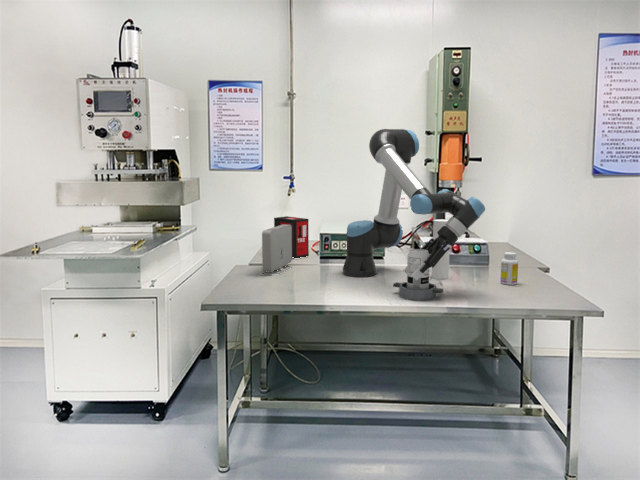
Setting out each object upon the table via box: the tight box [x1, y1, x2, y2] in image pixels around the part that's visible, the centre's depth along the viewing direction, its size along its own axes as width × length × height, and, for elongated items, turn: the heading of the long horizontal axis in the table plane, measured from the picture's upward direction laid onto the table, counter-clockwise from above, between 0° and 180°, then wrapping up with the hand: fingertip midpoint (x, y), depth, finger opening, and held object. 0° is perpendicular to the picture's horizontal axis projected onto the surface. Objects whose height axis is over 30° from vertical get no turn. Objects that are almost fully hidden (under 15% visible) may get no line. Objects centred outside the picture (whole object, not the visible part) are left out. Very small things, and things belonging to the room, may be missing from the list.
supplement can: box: [406, 248, 430, 290], centre depth 208 cm, size 8×8×15 cm
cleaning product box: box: [273, 215, 310, 259], centre depth 289 cm, size 16×9×20 cm, turn 46°
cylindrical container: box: [431, 218, 451, 280], centre depth 239 cm, size 7×7×25 cm
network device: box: [261, 224, 293, 275], centre depth 253 cm, size 26×9×20 cm, turn 161°
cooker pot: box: [393, 281, 444, 302], centre depth 209 cm, size 19×14×4 cm
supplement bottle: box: [500, 251, 519, 286], centre depth 228 cm, size 7×7×13 cm
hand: (409, 275), depth 207 cm, fingers closed on supplement can, 8 cm apart
